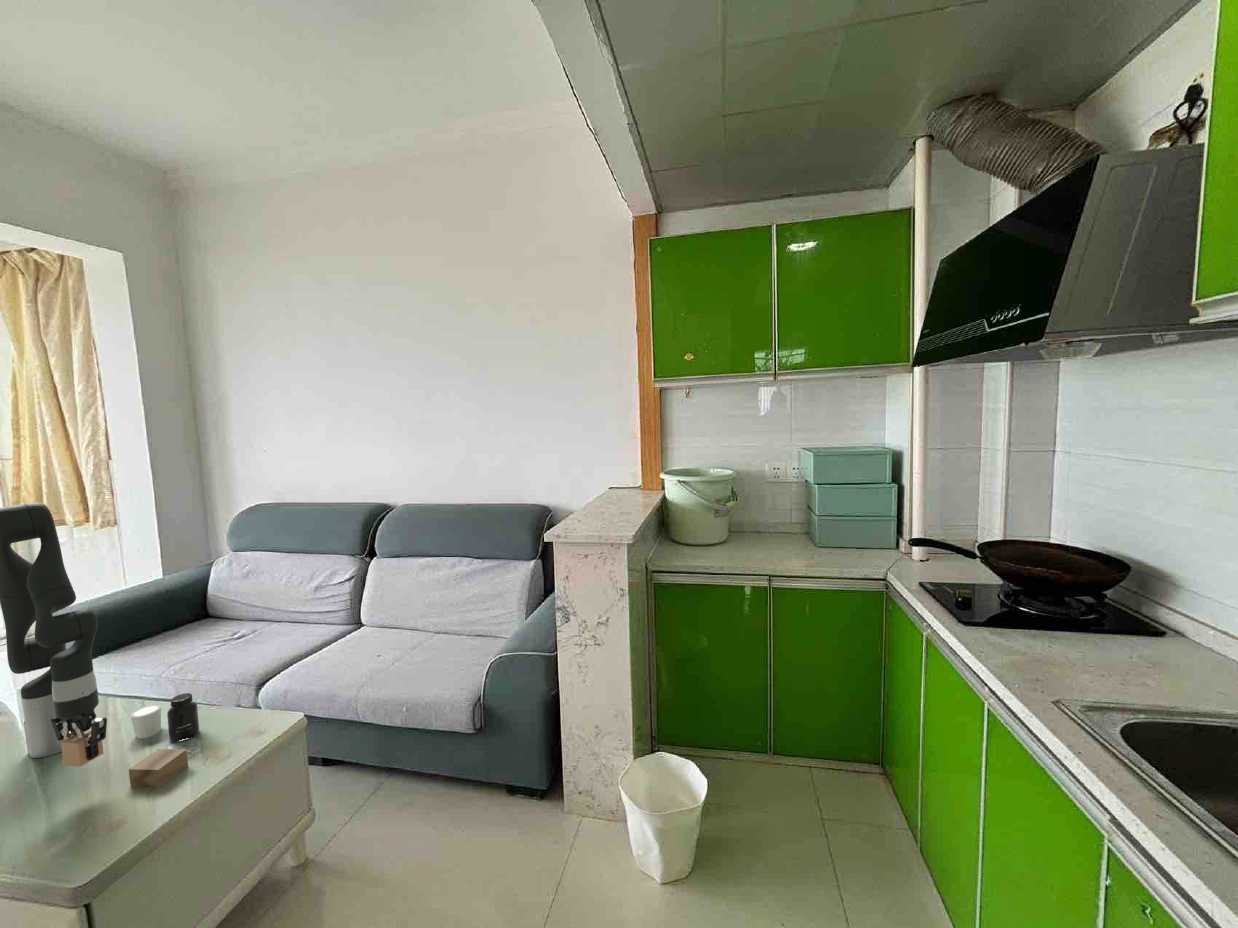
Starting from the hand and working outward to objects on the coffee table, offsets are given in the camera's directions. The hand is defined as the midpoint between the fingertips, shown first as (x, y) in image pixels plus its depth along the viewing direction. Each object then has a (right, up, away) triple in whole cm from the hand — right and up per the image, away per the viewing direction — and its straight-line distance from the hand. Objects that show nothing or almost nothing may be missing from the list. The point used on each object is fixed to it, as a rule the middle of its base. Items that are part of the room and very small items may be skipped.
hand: (83, 756), depth 130 cm
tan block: (0, -1, 0) cm, 1 cm away
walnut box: (+14, -9, +6) cm, 17 cm away
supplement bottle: (+5, -8, +24) cm, 26 cm away
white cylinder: (-7, -8, +26) cm, 28 cm away
